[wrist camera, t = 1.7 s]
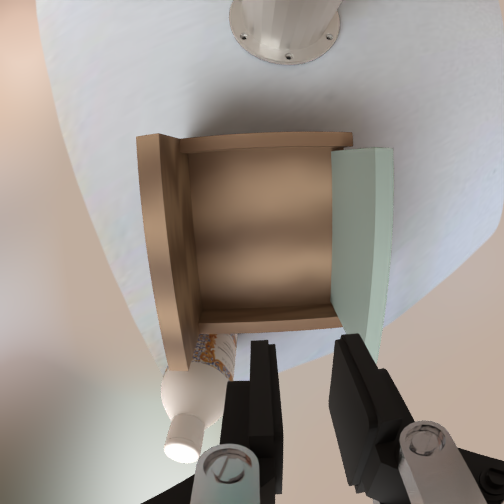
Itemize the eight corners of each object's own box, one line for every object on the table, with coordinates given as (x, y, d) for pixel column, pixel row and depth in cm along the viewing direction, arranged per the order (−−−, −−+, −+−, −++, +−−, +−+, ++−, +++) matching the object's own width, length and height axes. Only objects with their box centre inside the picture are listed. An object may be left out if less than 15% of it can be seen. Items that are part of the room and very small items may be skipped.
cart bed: (184, 145, 33) (136, 136, 19) (328, 138, 33) (378, 125, 19) (198, 296, 38) (169, 370, 24) (329, 290, 38) (365, 361, 24)
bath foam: (247, 341, 40) (241, 467, 21) (202, 360, 41) (174, 480, 22) (219, 298, 38) (191, 417, 19) (174, 321, 39) (122, 435, 20)
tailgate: (331, 151, 27) (374, 147, 17) (349, 151, 27) (401, 148, 17) (330, 301, 32) (361, 365, 21) (347, 299, 31) (384, 362, 21)
